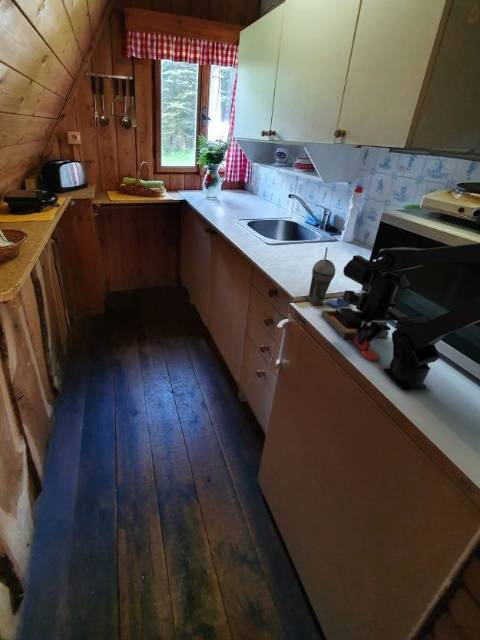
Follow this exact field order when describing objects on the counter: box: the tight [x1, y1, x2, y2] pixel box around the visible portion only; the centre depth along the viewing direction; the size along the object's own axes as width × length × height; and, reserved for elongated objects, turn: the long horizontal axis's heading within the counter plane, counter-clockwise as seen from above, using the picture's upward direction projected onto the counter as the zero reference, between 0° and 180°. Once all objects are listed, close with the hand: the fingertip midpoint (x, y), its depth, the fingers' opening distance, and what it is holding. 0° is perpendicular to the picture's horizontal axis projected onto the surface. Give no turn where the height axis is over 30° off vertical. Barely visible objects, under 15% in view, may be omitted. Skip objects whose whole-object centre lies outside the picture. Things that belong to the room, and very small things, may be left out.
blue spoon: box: [326, 296, 350, 309], centre depth 105 cm, size 8×4×3 cm, turn 100°
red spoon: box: [353, 334, 379, 362], centre depth 83 cm, size 8×4×3 cm, turn 10°
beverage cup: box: [308, 246, 336, 305], centre depth 103 cm, size 7×7×20 cm
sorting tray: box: [320, 310, 390, 340], centre depth 94 cm, size 12×15×2 cm
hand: (361, 343), depth 84 cm, fingers closed on red spoon
